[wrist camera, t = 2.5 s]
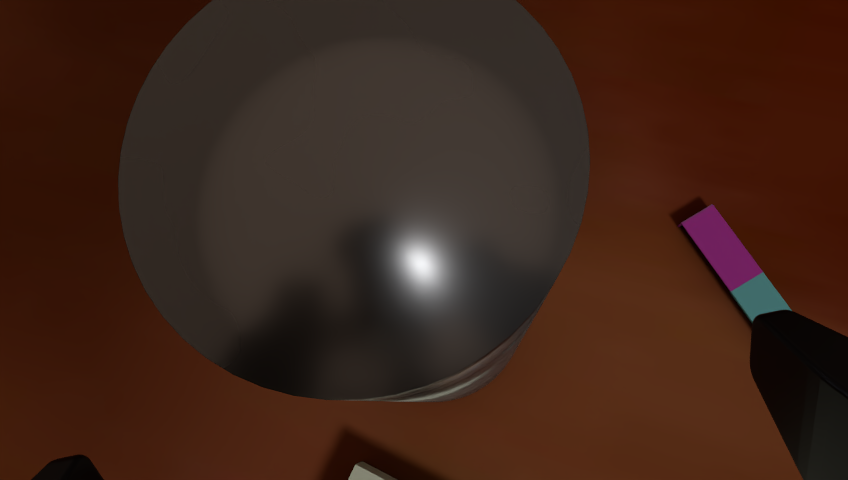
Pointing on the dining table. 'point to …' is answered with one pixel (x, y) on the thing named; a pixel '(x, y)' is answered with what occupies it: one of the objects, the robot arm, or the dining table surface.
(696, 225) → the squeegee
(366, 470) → the sage board
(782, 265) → the dining table surface
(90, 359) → the dining table surface
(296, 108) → the steel canister
